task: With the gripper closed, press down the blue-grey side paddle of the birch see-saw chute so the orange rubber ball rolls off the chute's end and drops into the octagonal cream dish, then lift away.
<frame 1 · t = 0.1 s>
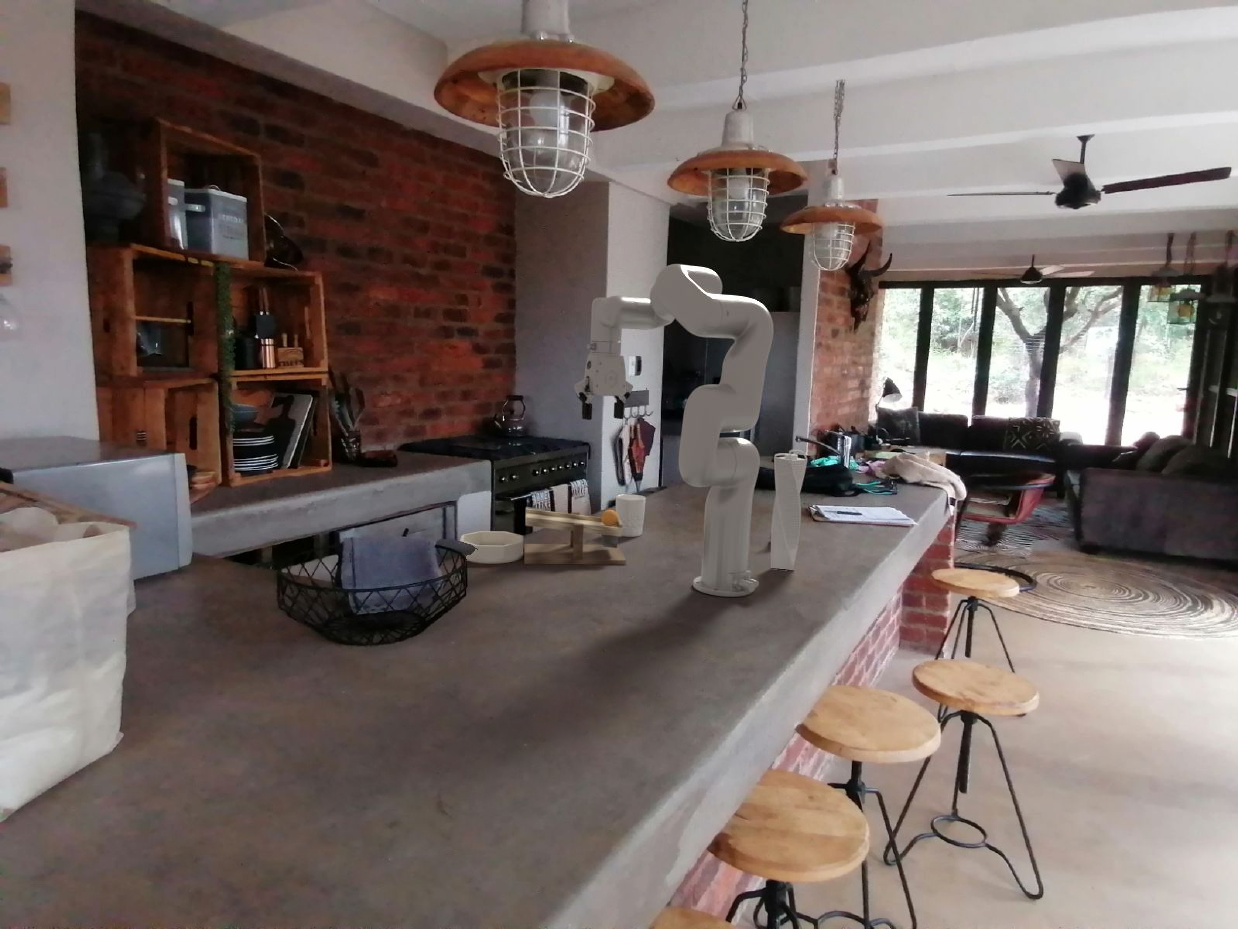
hand: (602, 418, 196), 31 cm above the worktop, fingers open, 9 cm apart
white cup: (629, 534, 211), on the worktop
fennel bulb: (780, 543, 208), on the worktop
skyscraper: (782, 568, 184), on the worktop
octagonal cream dish: (491, 555, 184), on the worktop
lever: (571, 524, 188), point 7 cm above the worktop, hinge at -6.0°, touching ball
ball: (609, 518, 186), point 9 cm above the worktop, tilted 19°, touching lever
lever stand: (575, 556, 186), on the worktop
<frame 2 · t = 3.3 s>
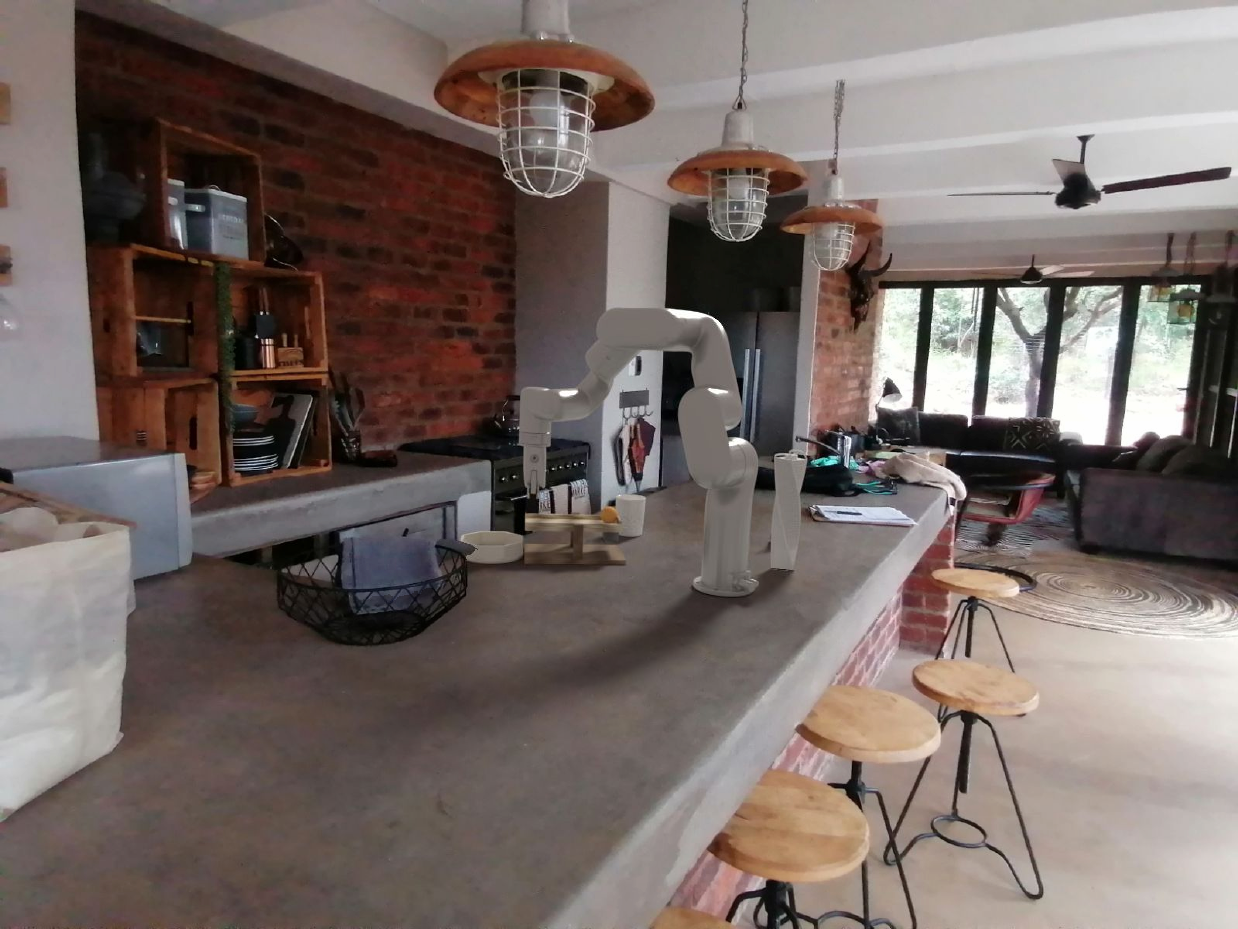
hand: (532, 514, 192), 8 cm above the worktop, fingers closed
lever: (571, 524, 188), point 7 cm above the worktop, hinge at -0.3°, touching ball, gripper
ball: (609, 515, 186), point 10 cm above the worktop, tilted 14°, touching lever
everything else where it was.
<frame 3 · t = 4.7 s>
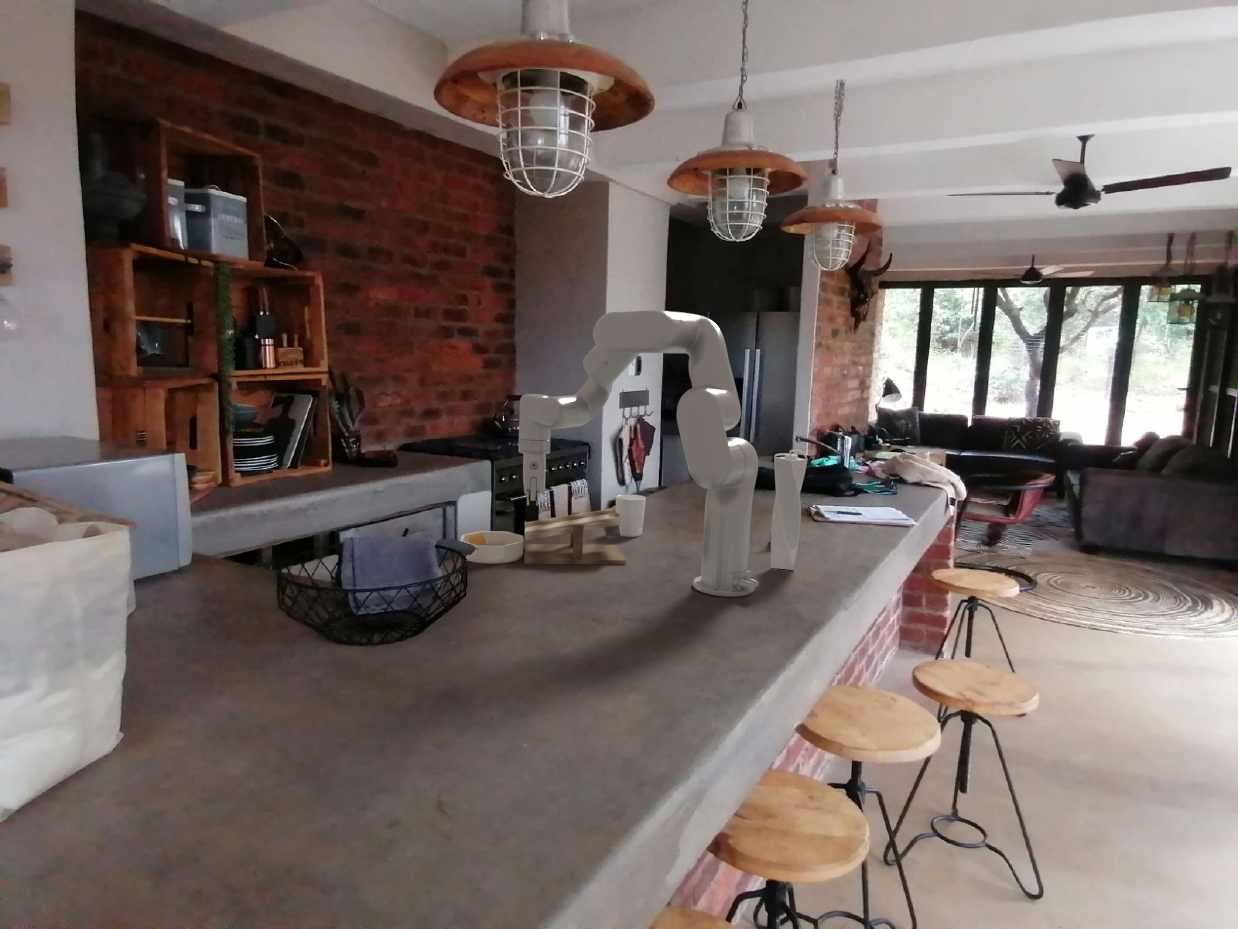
hand: (531, 521, 192), 6 cm above the worktop, fingers closed
lever: (571, 525, 188), point 7 cm above the worktop, hinge at 10.2°, touching gripper
ball: (477, 542, 183), point 3 cm above the worktop, tilted 157°, touching octagonal cream dish
everything else where it was.
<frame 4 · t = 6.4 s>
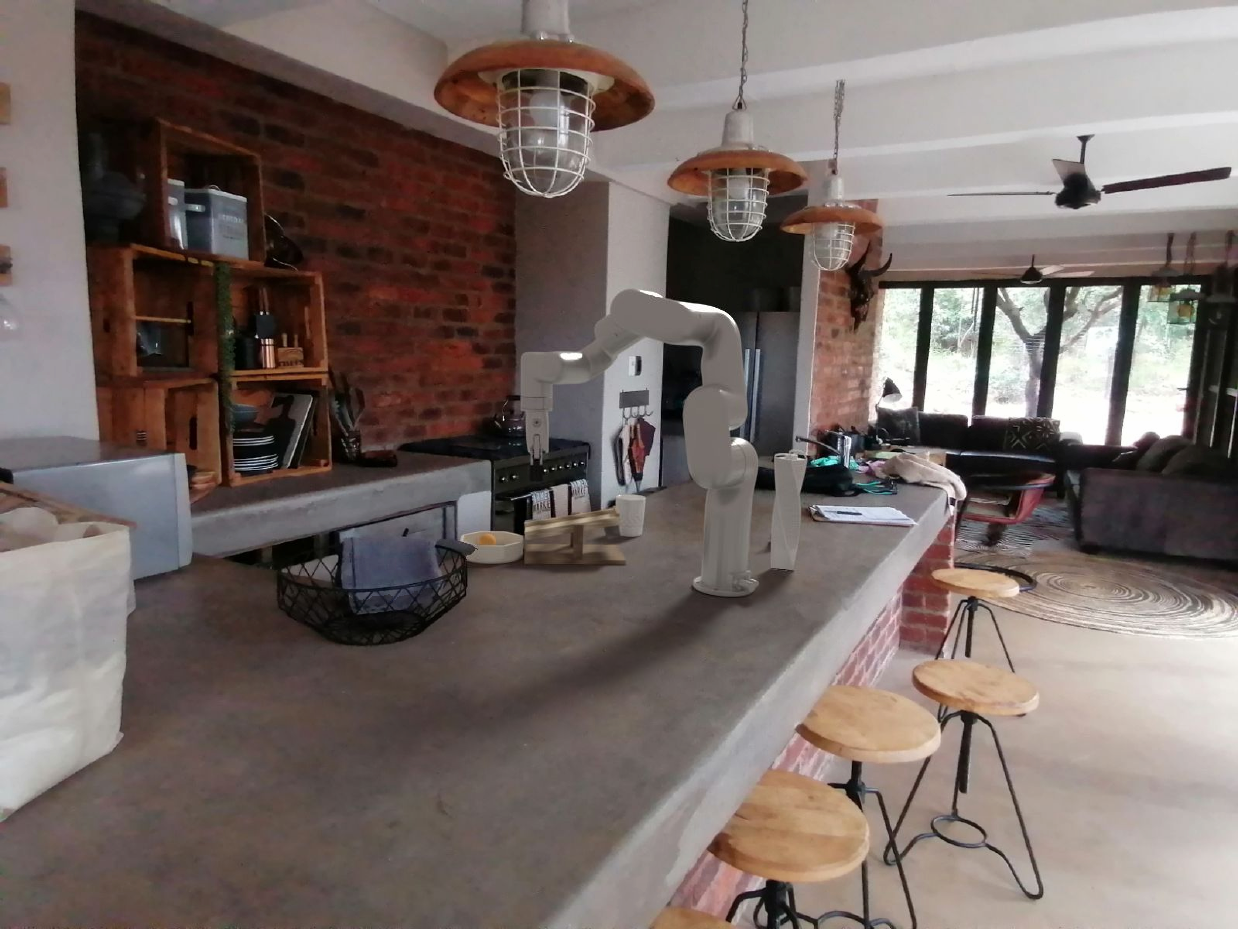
hand: (536, 481, 190), 16 cm above the worktop, fingers closed
lever: (571, 525, 188), point 7 cm above the worktop, hinge at 10.2°
ball: (487, 542, 183), point 3 cm above the worktop, tilted 137°, touching octagonal cream dish
everything else where it was.
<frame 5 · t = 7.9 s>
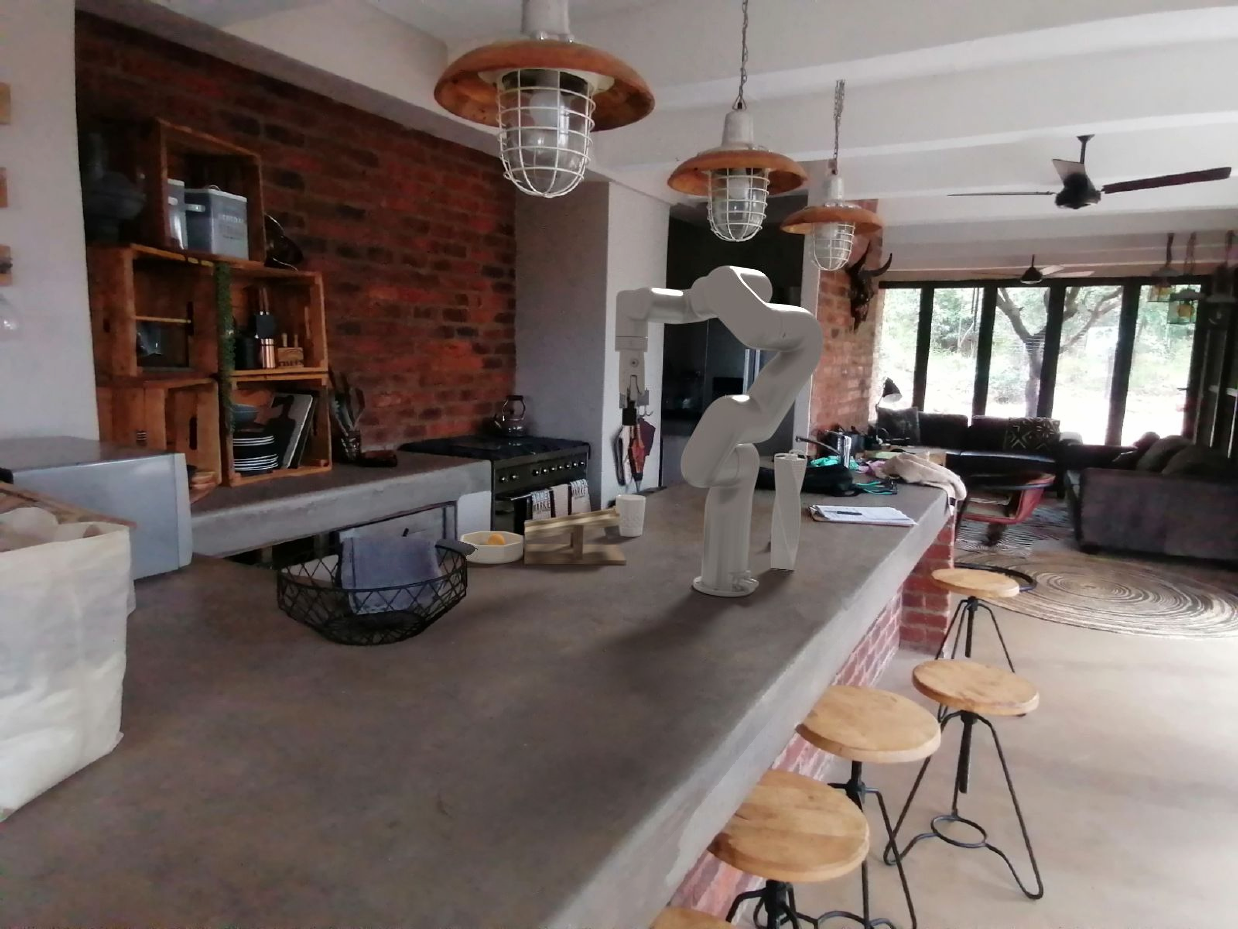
hand: (629, 425, 183), 31 cm above the worktop, fingers closed
ball: (496, 542, 183), point 3 cm above the worktop, tilted 80°, touching octagonal cream dish
everything else where it was.
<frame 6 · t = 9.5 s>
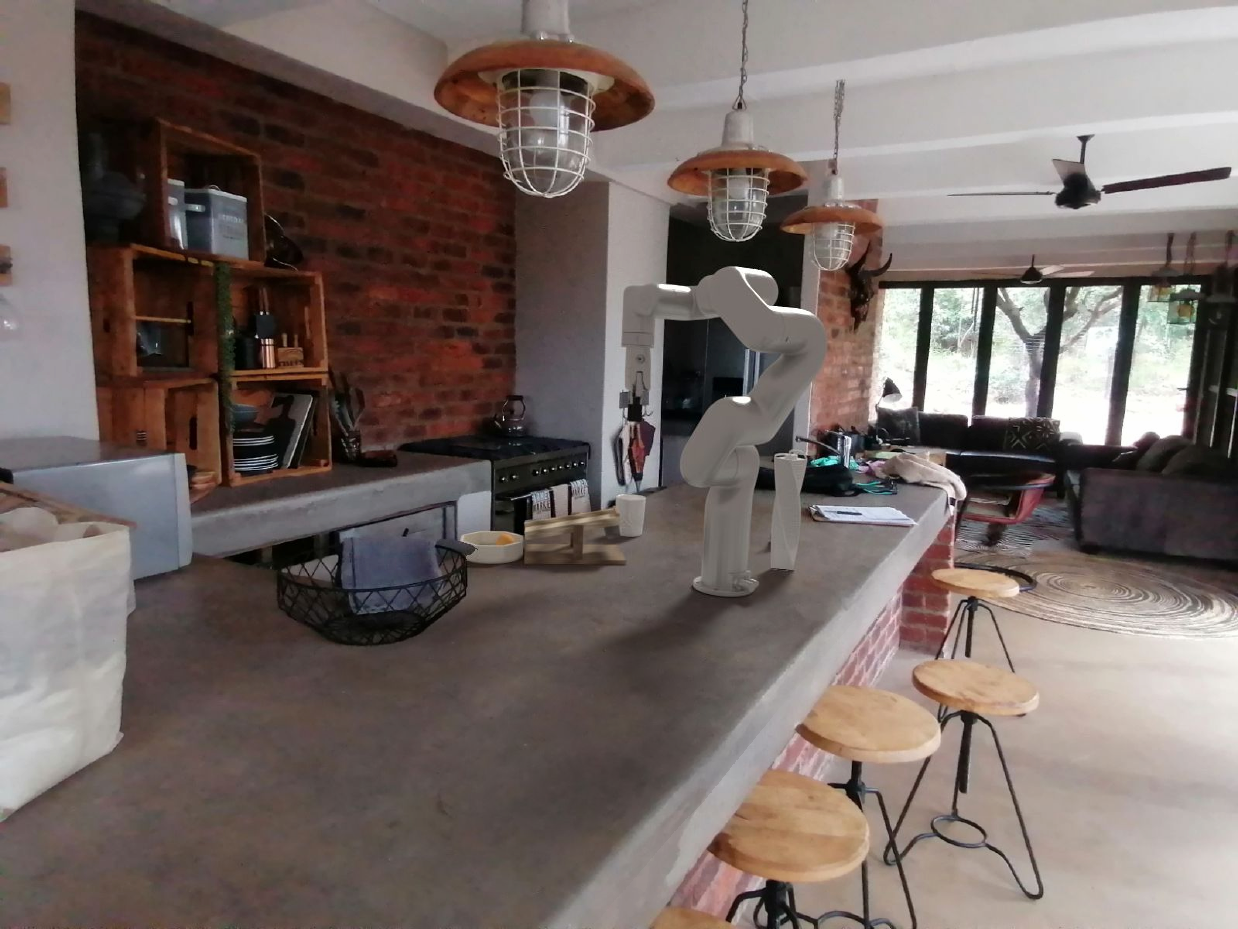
hand: (634, 421, 183), 32 cm above the worktop, fingers closed
ball: (505, 542, 184), point 3 cm above the worktop, tilted 18°, touching octagonal cream dish
everything else where it was.
at the end: ball inside the target area on the octagonal cream dish (3.1 cm from its centre), point 3.0 cm above the octagonal cream dish's base; ball moved 24.4 cm from its start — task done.
